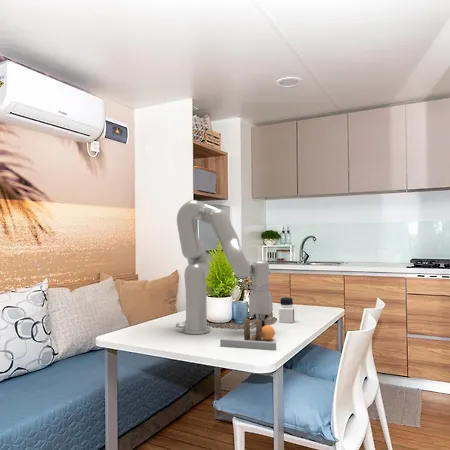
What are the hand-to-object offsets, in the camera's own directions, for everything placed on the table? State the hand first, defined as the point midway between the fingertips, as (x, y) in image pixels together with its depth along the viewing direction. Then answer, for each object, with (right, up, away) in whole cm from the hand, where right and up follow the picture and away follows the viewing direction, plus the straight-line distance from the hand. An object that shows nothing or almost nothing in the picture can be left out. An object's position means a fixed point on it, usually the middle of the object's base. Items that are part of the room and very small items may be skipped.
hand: (261, 329), depth 187 cm
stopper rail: (-7, -1, -24) cm, 25 cm away
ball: (+1, +2, -13) cm, 13 cm away
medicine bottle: (+15, -2, +23) cm, 27 cm away
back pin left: (-7, -1, -15) cm, 16 cm away
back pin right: (-2, -1, -16) cm, 16 cm away
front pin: (-4, 0, -13) cm, 14 cm away
